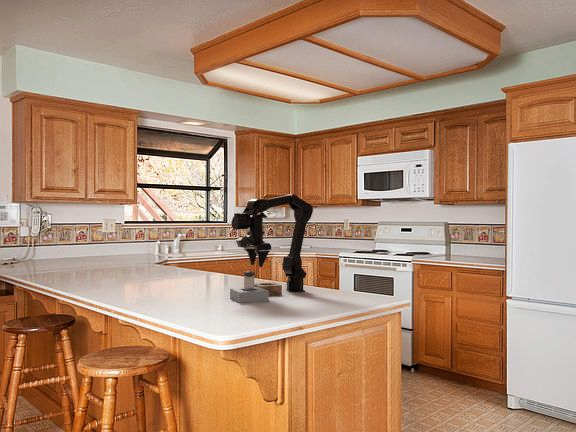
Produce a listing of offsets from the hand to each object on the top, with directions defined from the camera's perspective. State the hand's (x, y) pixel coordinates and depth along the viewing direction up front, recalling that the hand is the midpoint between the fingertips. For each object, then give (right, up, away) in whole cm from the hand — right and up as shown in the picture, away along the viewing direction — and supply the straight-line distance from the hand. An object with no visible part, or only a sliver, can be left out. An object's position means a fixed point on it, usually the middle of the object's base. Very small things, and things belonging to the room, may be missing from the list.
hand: (256, 266), depth 219 cm
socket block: (-2, -12, -13) cm, 18 cm away
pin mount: (+4, -12, +3) cm, 13 cm away
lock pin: (-2, -12, -13) cm, 17 cm away
